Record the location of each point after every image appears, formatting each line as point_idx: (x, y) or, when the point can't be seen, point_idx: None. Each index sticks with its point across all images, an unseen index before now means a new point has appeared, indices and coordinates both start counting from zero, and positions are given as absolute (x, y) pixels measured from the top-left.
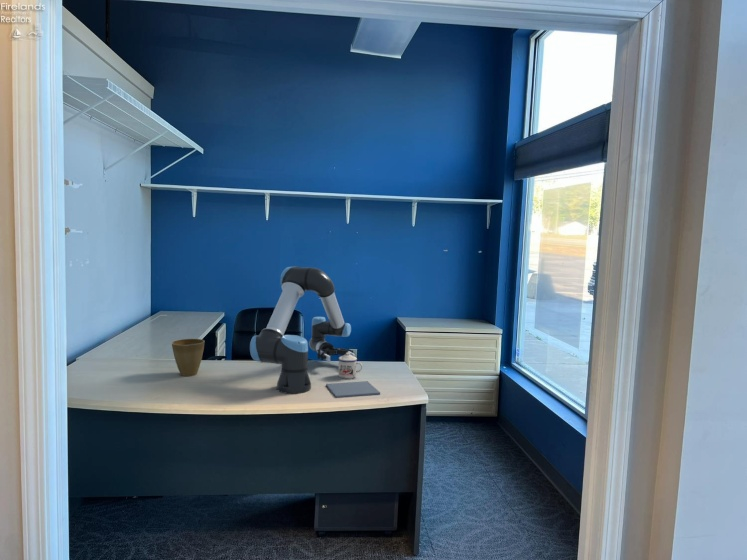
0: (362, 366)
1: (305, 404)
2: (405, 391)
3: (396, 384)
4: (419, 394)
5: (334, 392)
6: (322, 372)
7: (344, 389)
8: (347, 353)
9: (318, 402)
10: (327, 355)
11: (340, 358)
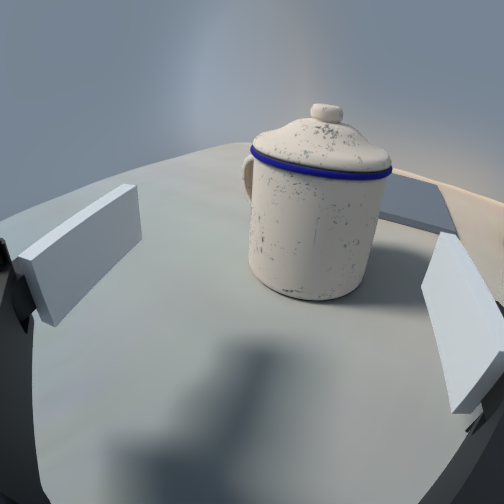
0: (248, 168)
1: (500, 203)
2: (242, 151)
3: (209, 167)
4: (233, 143)
5: (437, 193)
6: (438, 404)
7: (404, 190)
8: (335, 106)
9: (476, 196)
10: (470, 267)
11: (384, 151)
